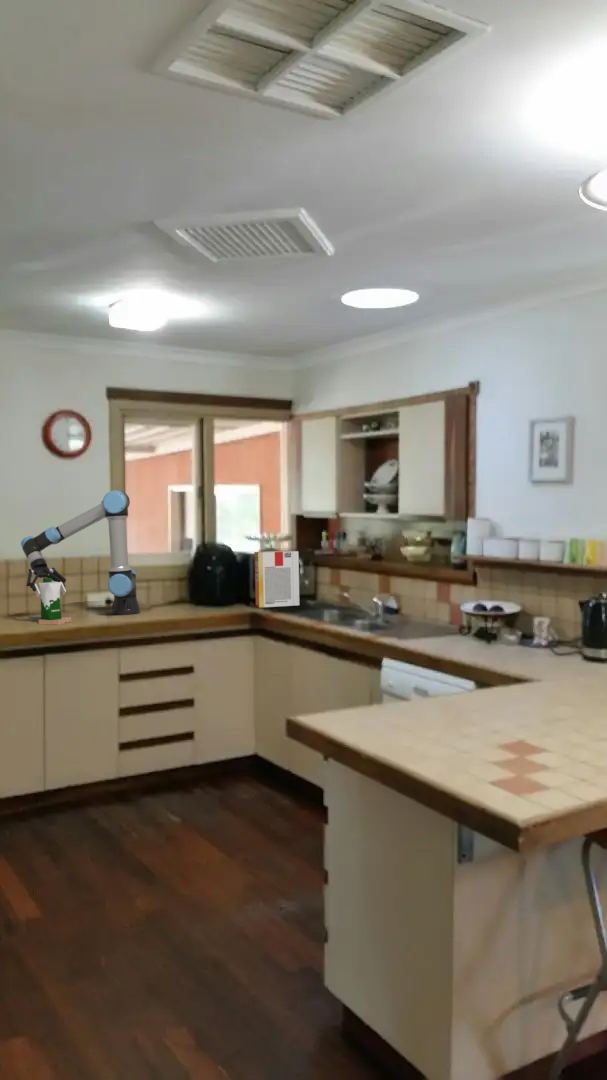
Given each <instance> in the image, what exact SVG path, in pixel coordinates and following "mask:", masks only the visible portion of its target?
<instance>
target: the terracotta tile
mask: <svg viewBox="0 0 607 1080" xmlns="http://www.w3.org/2000/svg"><path fill="white" fill-rule="evenodd" d="M69 621H71V622H72V617H66V616H65V617H64V616H62V618H61V619H54V620H43V619H41V620H39V621H38V624H39V625H54V624H59V625H62V624H61V623H63V624H66V623H65V622H67V623H70V622H69Z"/></svg>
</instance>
